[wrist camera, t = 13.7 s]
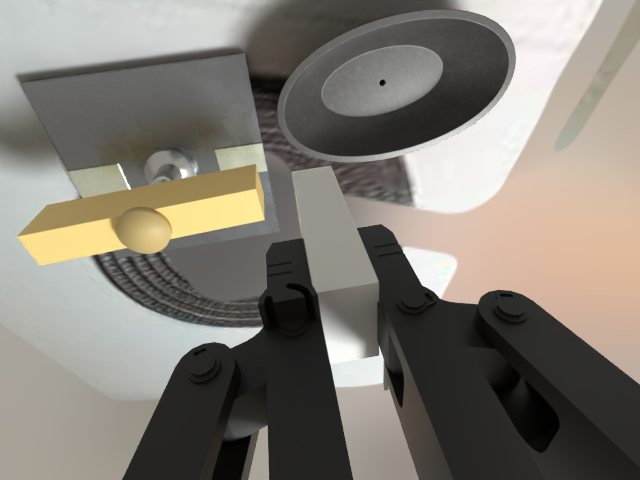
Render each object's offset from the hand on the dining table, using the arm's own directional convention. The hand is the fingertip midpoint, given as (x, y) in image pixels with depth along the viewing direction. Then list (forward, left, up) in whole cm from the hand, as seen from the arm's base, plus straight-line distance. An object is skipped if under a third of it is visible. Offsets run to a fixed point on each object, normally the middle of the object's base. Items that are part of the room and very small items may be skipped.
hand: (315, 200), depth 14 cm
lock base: (+8, -13, -26) cm, 31 cm away
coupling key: (+8, -13, -19) cm, 24 cm away
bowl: (+2, +10, -27) cm, 29 cm away
